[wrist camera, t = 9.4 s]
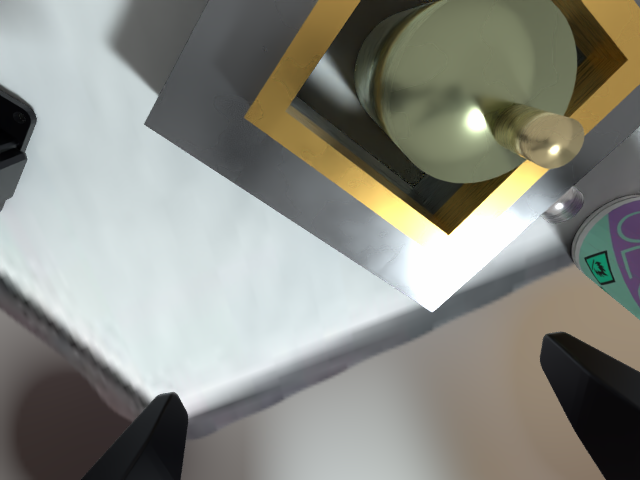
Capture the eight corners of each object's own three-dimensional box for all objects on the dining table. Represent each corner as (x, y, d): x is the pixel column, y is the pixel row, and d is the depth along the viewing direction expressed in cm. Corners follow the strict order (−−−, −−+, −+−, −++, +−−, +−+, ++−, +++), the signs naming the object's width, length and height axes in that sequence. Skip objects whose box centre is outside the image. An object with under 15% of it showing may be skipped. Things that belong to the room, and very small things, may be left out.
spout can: (332, 85, 17) (363, 131, 8) (405, -19, 15) (543, -101, 7) (410, 148, 19) (505, 243, 10) (484, 61, 17) (682, 81, 8)
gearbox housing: (172, 109, 17) (121, 136, 12) (405, -316, 12) (476, -571, 7) (437, 290, 23) (473, 356, 18) (682, 64, 17) (830, 73, 12)
